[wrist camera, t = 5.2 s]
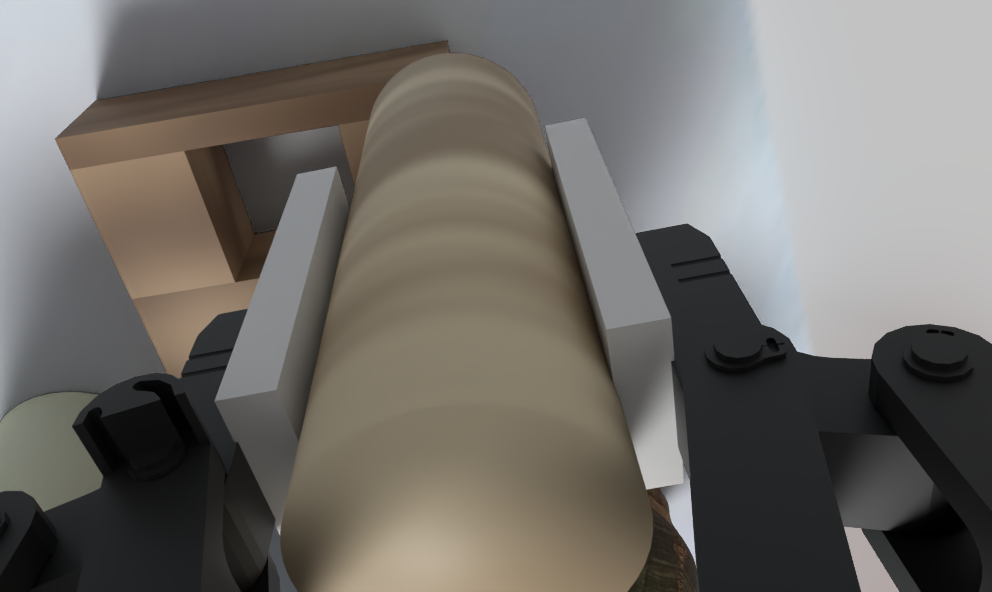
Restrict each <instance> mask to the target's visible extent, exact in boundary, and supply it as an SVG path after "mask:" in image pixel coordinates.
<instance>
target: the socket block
mask: <svg viewBox="0 0 992 592" xmlns="http://www.w3.org/2000/svg"><path fill="white" fill-rule="evenodd" d="M444 53H450V51H449V45H448V40H447V41H442V42H436V43H430V44H424V45H418V46H412V47H406V48H401V49H395V50H389V51H383V52H377V53H371V54H365V55H360V56H354V57H348V58H342V59H336V60H330V61H324V62H318V63H313V64H307V65H301V66H295V67H289V68H283V69H277V70H272V71H266V72H260V73H254V74H248V75H242V76H236V77H231V78H225V79H219V80H213V81H207V82H201V83H195V84H190V85H184V86H178V87H172V88H166V89H160V90H154V91H148V92H143V93H137V94H131V95H125V96H119V97H113V98H107V99H102V100H96V101H95V102H94V103H93V104H91V105H90V106H89V107H88V108H87V109H86V110H85V111H84V112H83V113H82V114H81V115H80V116H79V117H78V118H77V119H76V120H74V121H73V122H72V123H71V124H70V125H69V126H68V127H67V128H66V129H65V130H64V131H63V132H62V133H61V134H60V135H58V136H57V137H56V138H55V140H56V142H57V145H58V147H59V149H60V151H61V153H62V155H63V157H64V159H65V161H66V163H67V165H68V168H69V170H70V172H71V174H72V176H73V178H74V180H75V182H76V184H77V186H78V188H79V191H80V193H81V195H82V197H83V199H84V201H85V203H86V205H87V207H88V209H89V211H90V214H91V216H92V218H93V220H94V222H95V224H96V226H97V228H98V230H99V232H100V234H101V236H102V239H103V241H104V243H105V245H106V247H107V249H108V251H109V253H110V255H111V257H112V259H113V262H114V264H115V266H116V268H117V270H118V272H119V274H120V276H121V278H122V280H123V282H124V285H125V287H126V289H127V291H128V293H129V295H130V297H131V299H132V301H133V303H134V305H135V308H136V310H137V312H138V314H139V316H140V318H141V320H142V322H143V324H144V326H145V328H146V331H147V333H148V335H149V337H150V339H151V341H152V343H153V345H154V347H155V349H156V351H157V354H158V356H159V358H160V360H161V362H162V364H163V366H164V368H165V370H166V372H167V374H170V375H173V376H175V377H176V378H178V379H179V378H181V372H182V370H183V368H184V365H185V363H186V361H187V360H189V357H188V356H189V354H190V352H191V349H192V347H193V345H194V342H195V340H196V338H197V336H198V334H199V333H200V332H201V331H202V330H203V329H204V328H205V327H206V326H207V325H208V324H209V323H210V322H211V321H212V320H213V319H214V318H215V317H216V316H217V315H218V314H222V313H227V312H233V311H238V310H243V309H248V308H249V305H250V302H251V299H252V297H253V294H254V291H255V288H256V286H257V283H258V280H259V277H260V275H261V272H262V269H263V267H264V264H265V261H266V258H267V256H268V253H269V250H270V247H271V245H272V242H273V239H274V236H275V234H276V231H277V230H276V231H270V232H264V233H258V234H254V231H253V228H252V225H251V223H250V220H249V217H248V214H247V212H246V209H245V206H244V203H243V200H242V198H241V195H240V192H239V189H238V186H237V184H236V181H235V178H234V175H233V173H232V170H231V167H230V164H229V161H228V159H227V156H226V153H225V150H224V148H223V144H229V143H235V142H241V141H247V140H252V139H258V138H264V137H270V136H276V135H282V134H288V133H294V132H300V131H306V130H312V129H318V128H324V127H330V126H336V125H338V127H339V131H340V134H341V138H342V142H343V145H344V149H345V153H346V156H347V160H348V164H349V168H350V171H351V175H352V179H353V182H354V186H355V184H356V179H357V175H358V170H359V165H360V161H361V156H362V152H363V147H364V143H365V138H366V133H367V129H368V124H369V120H370V115H371V112H372V109H373V106H374V103H375V101H376V99H377V97H378V95H379V93H380V92H381V91H382V89H383V88H384V86H385V85H386V84H387V83H388V82H389V80H390V79H391V78H392V77H393V76H394V75H395V74H397V73H398V72H399V71H401V70H402V69H403V68H405V67H406V66H408V65H410V64H411V63H413V62H415V61H418V60H420V59H422V58H425V57H429V56H432V55H437V54H444Z"/></svg>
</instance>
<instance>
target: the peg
mask: <svg viewBox="0 0 992 592" xmlns="http://www.w3.org/2000/svg"><path fill="white" fill-rule="evenodd" d="M652 536H653V515H652V510H651V506H650V501H649V497H648V494H647V490H646V487H645V483H644V480H643V476H642V473H641V469H640V466H639V463H638V459H637V456H636V452H635V449H634V445H633V442H632V439H631V435H630V432H629V428H628V425H627V421H626V418H625V415H624V411H623V408H622V404H621V401H620V398H619V396H618V394H617V391H616V389H615V386H614V384H613V381H612V377H611V374H610V370H609V367H608V363H607V360H606V356H605V353H604V349H603V346H602V342H601V339H600V335H599V332H598V329H597V325H596V322H595V318H594V315H593V311H592V308H591V304H590V301H589V297H588V294H587V290H586V287H585V283H584V280H583V276H582V273H581V269H580V266H579V262H578V259H577V255H576V252H575V248H574V245H573V241H572V238H571V234H570V231H569V227H568V224H567V220H566V217H565V213H564V210H563V207H562V203H561V200H560V196H559V193H558V189H557V186H556V182H555V179H554V175H553V172H552V167H551V161H550V157H549V153H548V150H547V147H546V143H545V140H544V136H543V133H542V129H541V126H540V123H539V119H538V116H537V112H536V109H535V107H534V104H533V102H532V100H531V98H530V96H529V95H528V93H527V91H526V90H525V89H524V87H523V86H522V85H521V83H520V82H519V81H518V80H517V79H516V78H515V77H514V76H513V75H512V74H511V73H509V72H508V71H507V70H505V69H504V68H503V67H501V66H499V65H497V64H496V63H494V62H492V61H490V60H487V59H485V58H482V57H478V56H475V55H471V54H463V53H444V54H437V55H432V56H429V57H425V58H422V59H420V60H418V61H415V62H413V63H411V64H410V65H408V66H406V67H405V68H403V69H402V70H401V71H399V72H398V73H397V74H395V75H394V76H393V77H392V78H391V79H390V80H389V82H388V83H387V84H386V85H385V86H384V88H383V89H382V91H381V92H380V93H379V95H378V97H377V99H376V101H375V103H374V106H373V109H372V112H371V115H370V120H369V124H368V129H367V133H366V138H365V143H364V147H363V152H362V156H361V161H360V165H359V170H358V175H357V179H356V184H355V188H354V193H353V197H352V202H351V207H350V211H349V216H348V220H347V225H346V229H345V234H344V239H343V243H342V248H341V252H340V257H339V261H338V266H337V271H336V275H335V280H334V284H333V289H332V293H331V298H330V303H329V307H328V312H327V316H326V321H325V325H324V330H323V335H322V339H321V344H320V348H319V353H318V357H317V362H316V367H315V371H314V376H313V380H312V385H311V389H310V394H309V399H308V403H307V408H306V412H305V417H304V421H303V426H302V430H301V435H300V440H299V444H298V449H297V453H296V458H295V462H294V467H293V472H292V476H291V481H290V485H289V490H288V494H287V499H286V504H285V508H284V513H283V518H282V523H281V528H280V547H281V553H282V558H283V563H284V565H285V568H286V570H287V573H288V575H289V578H290V580H291V581H292V583H293V585H294V586H295V588H296V590H297V591H298V592H628V590H629V589H630V588H631V586H632V585H633V584H634V582H635V581H636V580H637V578H638V576H639V574H640V572H641V570H642V569H643V567H644V565H645V562H646V560H647V557H648V554H649V551H650V548H651V542H652Z"/></svg>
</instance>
